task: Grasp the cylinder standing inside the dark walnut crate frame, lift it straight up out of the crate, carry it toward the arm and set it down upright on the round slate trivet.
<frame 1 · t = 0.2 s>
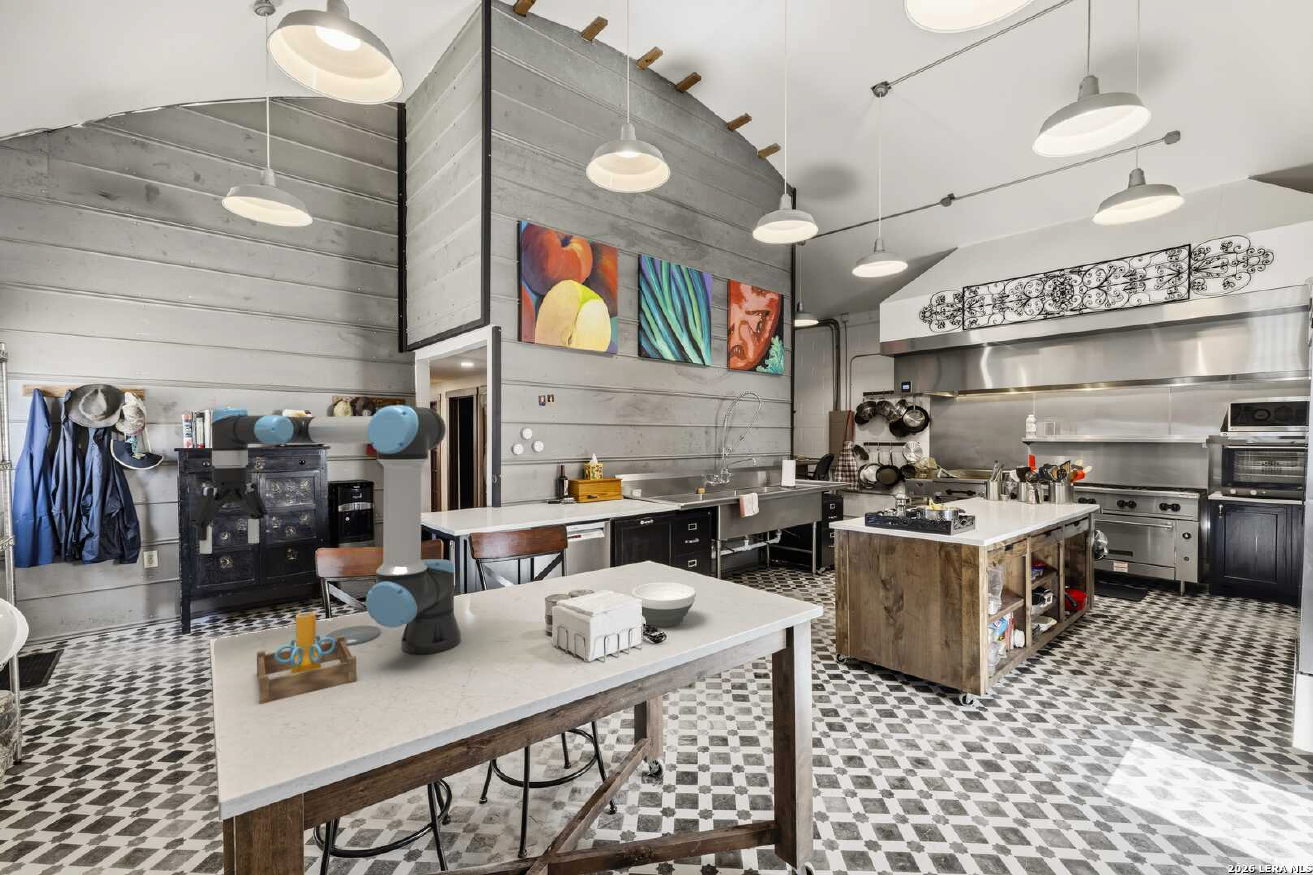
hand: (230, 547, 147), 28 cm above the table, fingers open, 13 cm apart
trivet: (353, 636, 159), on the table
bowl: (663, 622, 172), on the table
crate: (305, 677, 132), on the table
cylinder: (305, 678, 132), resting in crate
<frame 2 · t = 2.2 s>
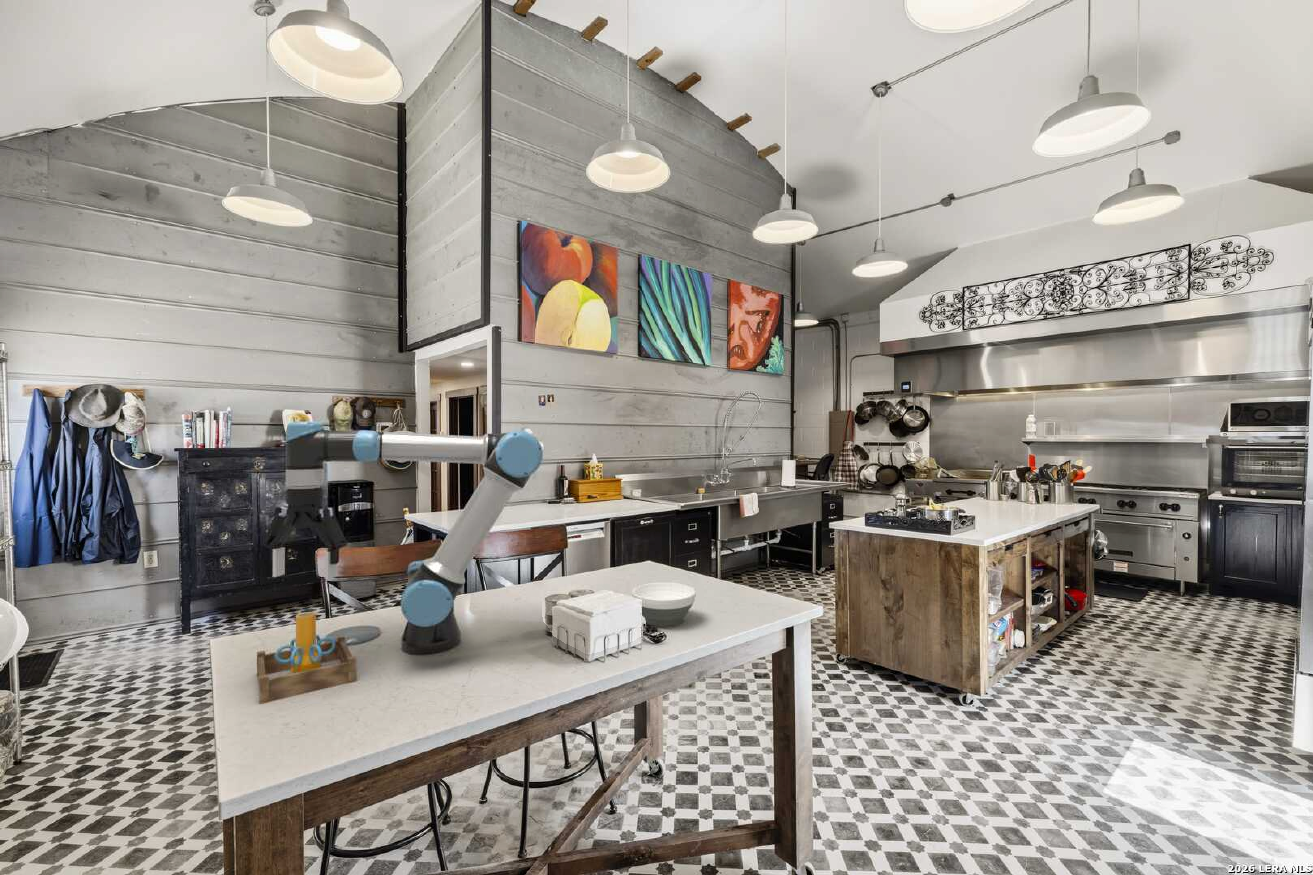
hand: (304, 576, 132), 24 cm above the table, fingers open, 13 cm apart
nothing on the table moved.
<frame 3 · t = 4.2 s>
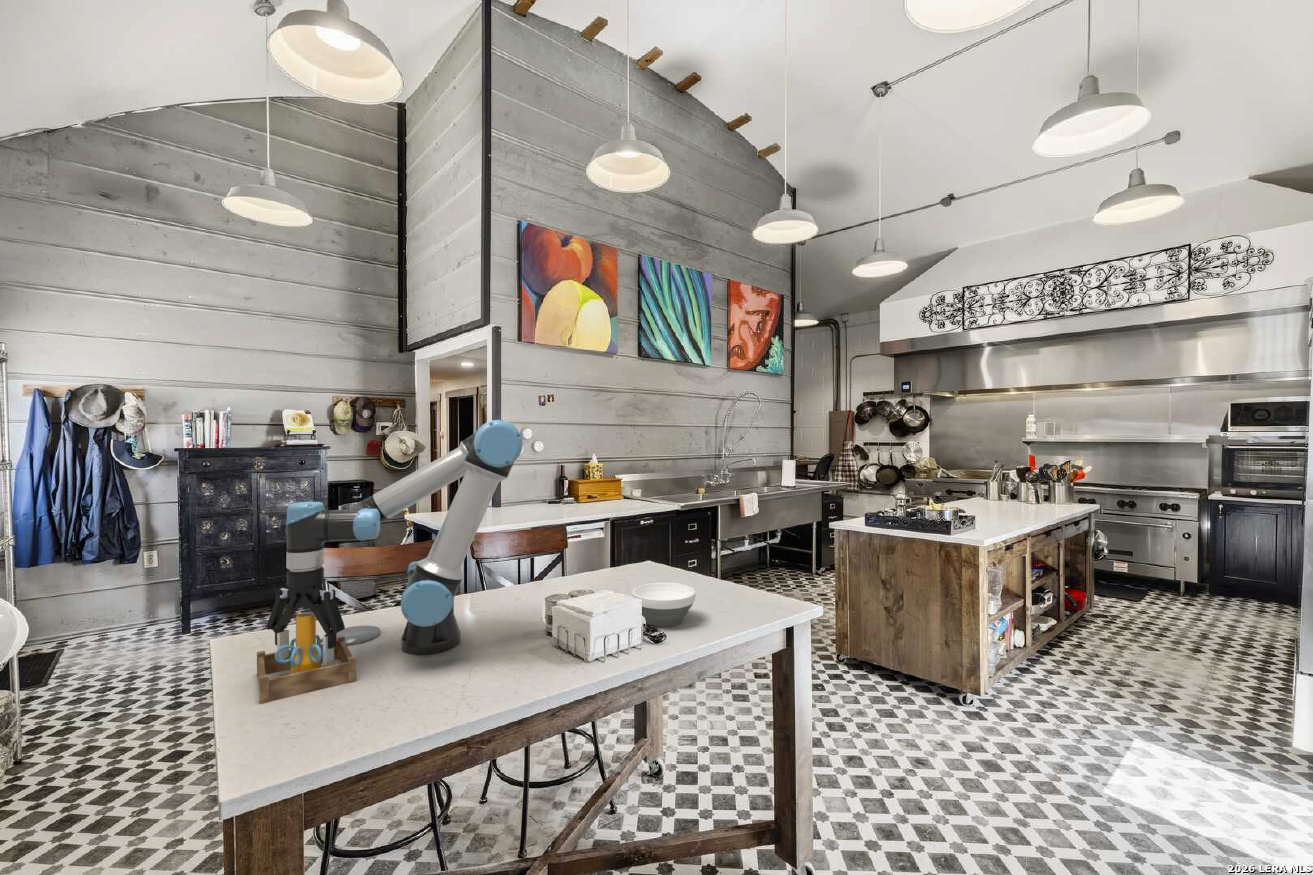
hand: (305, 660, 132), 4 cm above the table, fingers closed on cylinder, 11 cm apart
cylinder: (305, 678, 132), resting in crate, touching gripper
everything else where it was.
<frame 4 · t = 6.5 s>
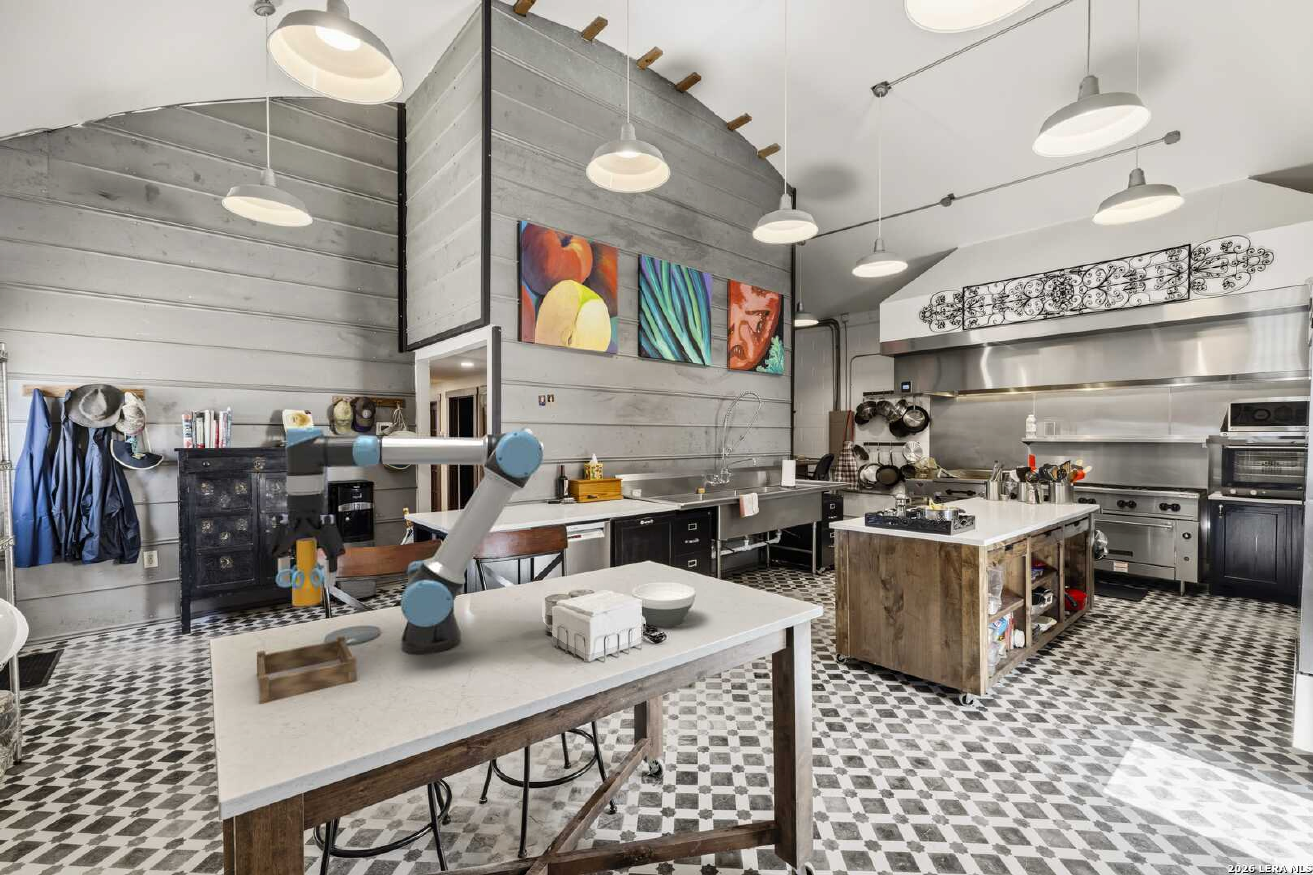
hand: (306, 585, 132), 22 cm above the table, fingers closed on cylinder, 11 cm apart
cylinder: (307, 603, 132), point 17 cm above the table, touching gripper
everything else where it was.
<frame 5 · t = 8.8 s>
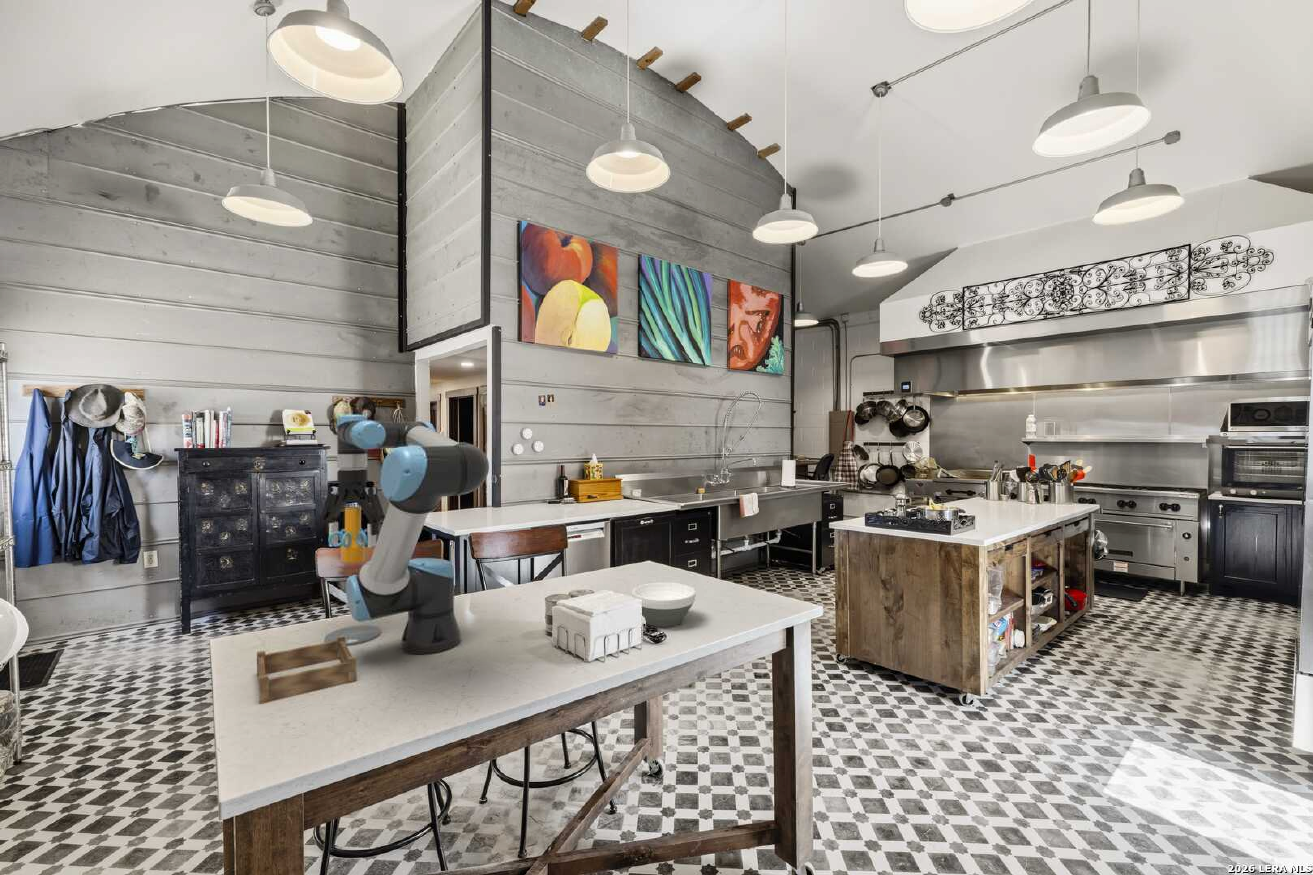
hand: (352, 546, 159), 26 cm above the table, fingers closed on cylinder, 11 cm apart
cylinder: (352, 561, 159), point 22 cm above the table, touching gripper
everything else where it was.
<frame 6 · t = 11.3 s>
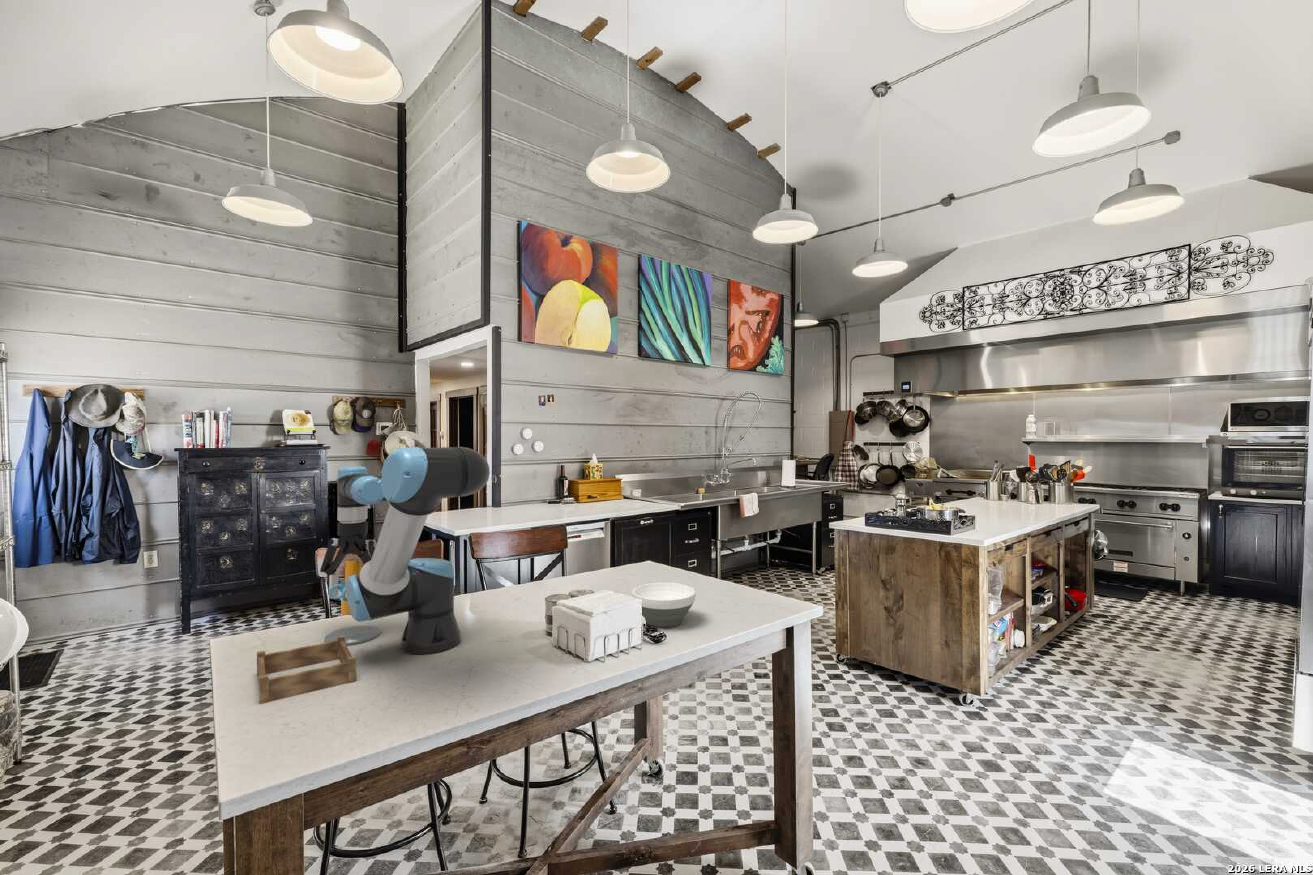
hand: (352, 597, 159), 11 cm above the table, fingers closed on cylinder, 11 cm apart
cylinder: (353, 612, 159), point 7 cm above the table, touching gripper
everything else where it was.
when the fingers open (6 cm above the table, at t = 13.4 s): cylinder drops 1 cm, resting on trivet.
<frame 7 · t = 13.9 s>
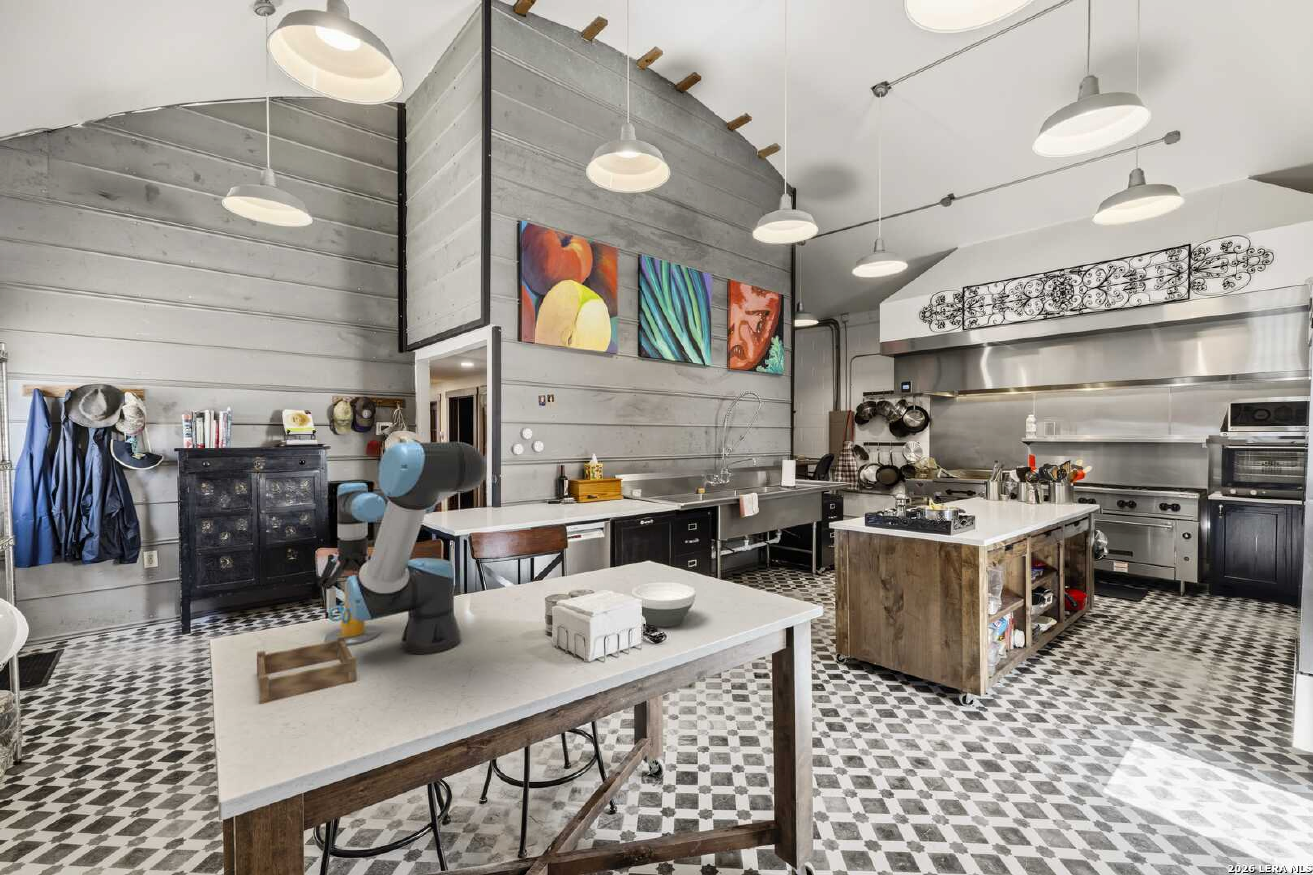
hand: (353, 612, 159), 7 cm above the table, fingers open, 13 cm apart
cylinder: (352, 634, 159), point 1 cm above the table, touching trivet
everything else where it was.
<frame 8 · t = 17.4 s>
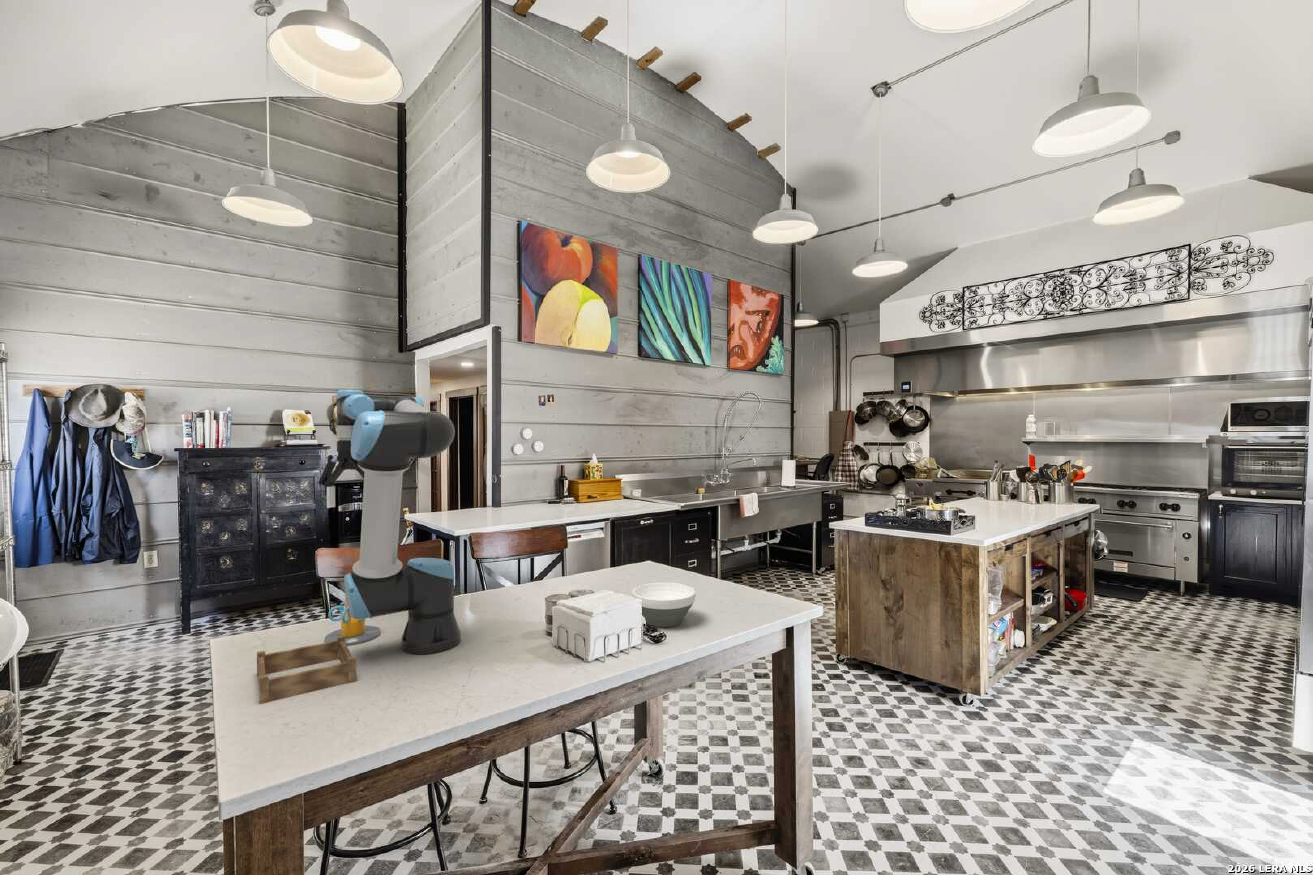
hand: (350, 507, 174), 35 cm above the table, fingers open, 13 cm apart
nothing on the table moved.
at the end: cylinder 0.1 cm from the trivet (horizontally); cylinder tilted 0°; the gripper is holding nothing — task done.
